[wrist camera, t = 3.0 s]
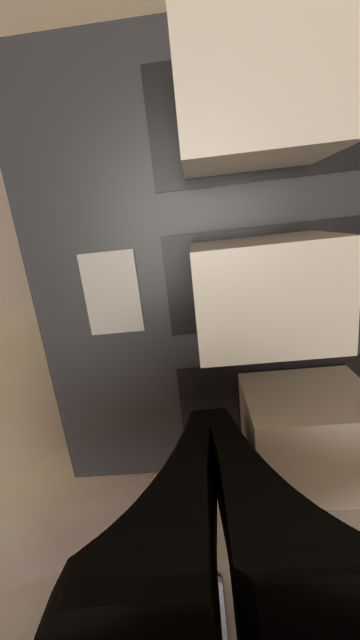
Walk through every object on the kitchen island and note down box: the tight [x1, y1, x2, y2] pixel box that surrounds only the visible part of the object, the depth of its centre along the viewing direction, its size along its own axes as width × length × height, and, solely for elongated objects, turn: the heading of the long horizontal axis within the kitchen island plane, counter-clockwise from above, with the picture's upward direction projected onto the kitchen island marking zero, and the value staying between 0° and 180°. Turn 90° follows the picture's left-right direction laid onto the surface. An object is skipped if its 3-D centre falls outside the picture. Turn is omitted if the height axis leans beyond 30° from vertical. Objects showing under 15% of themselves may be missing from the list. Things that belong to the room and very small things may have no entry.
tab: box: [190, 230, 360, 368], centre depth 10 cm, size 3×4×4 cm
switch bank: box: [0, 12, 360, 477], centre depth 12 cm, size 16×20×2 cm
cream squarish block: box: [166, 0, 360, 179], centre depth 8 cm, size 3×4×4 cm
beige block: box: [238, 365, 360, 511], centre depth 11 cm, size 3×4×4 cm
